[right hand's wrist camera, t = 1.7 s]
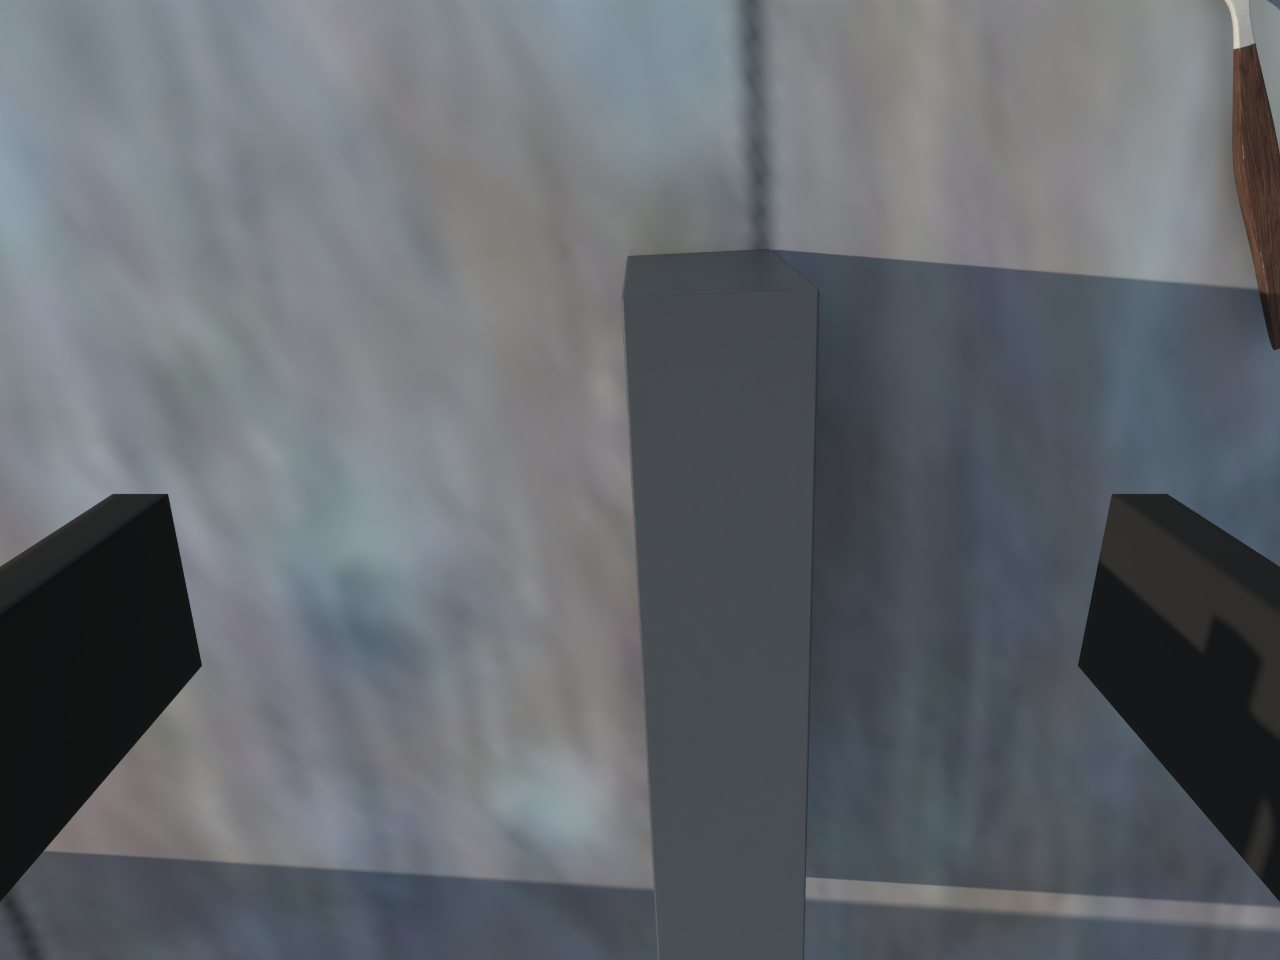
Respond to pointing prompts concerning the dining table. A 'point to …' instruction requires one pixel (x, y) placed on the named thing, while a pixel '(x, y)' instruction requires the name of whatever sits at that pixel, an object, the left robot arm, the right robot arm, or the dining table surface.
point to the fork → (1256, 165)
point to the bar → (724, 590)
